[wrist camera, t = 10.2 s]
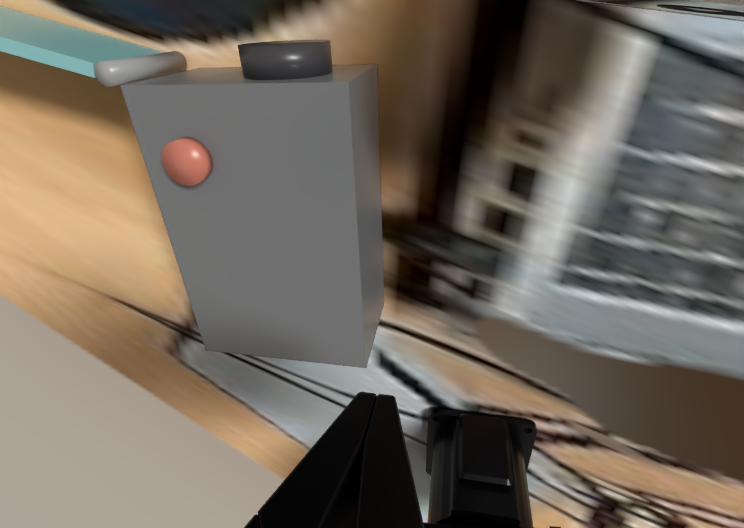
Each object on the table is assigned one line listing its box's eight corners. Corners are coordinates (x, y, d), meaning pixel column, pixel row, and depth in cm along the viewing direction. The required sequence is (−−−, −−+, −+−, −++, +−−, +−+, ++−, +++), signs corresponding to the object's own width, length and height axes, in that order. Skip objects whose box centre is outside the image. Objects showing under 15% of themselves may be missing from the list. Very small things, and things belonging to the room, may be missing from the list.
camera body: (384, 303, 23) (363, 377, 18) (247, 291, 25) (196, 358, 20) (376, 36, 16) (341, 46, 12) (189, 42, 18) (92, 54, 13)
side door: (186, 41, 18) (112, 49, 14) (186, 73, 18) (117, 89, 15) (-63, -28, 18) (-197, -38, 14) (-53, 6, 19) (-178, 5, 15)
